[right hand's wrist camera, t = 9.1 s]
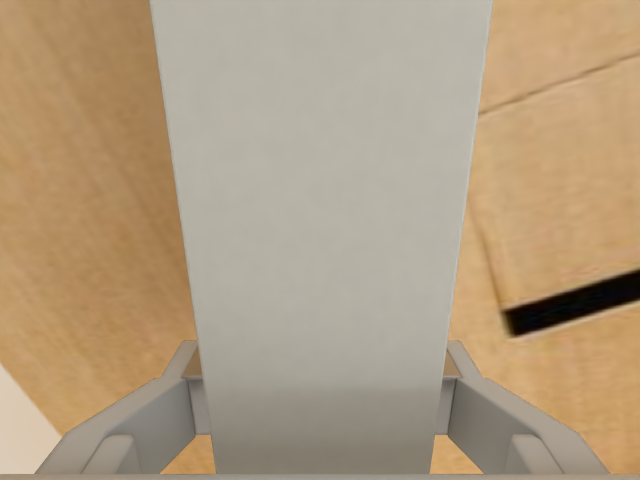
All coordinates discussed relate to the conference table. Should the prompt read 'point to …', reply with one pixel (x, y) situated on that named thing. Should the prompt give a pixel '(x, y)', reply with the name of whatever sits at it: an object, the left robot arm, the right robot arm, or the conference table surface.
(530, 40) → the conference table surface
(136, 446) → the right robot arm
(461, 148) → the beam
